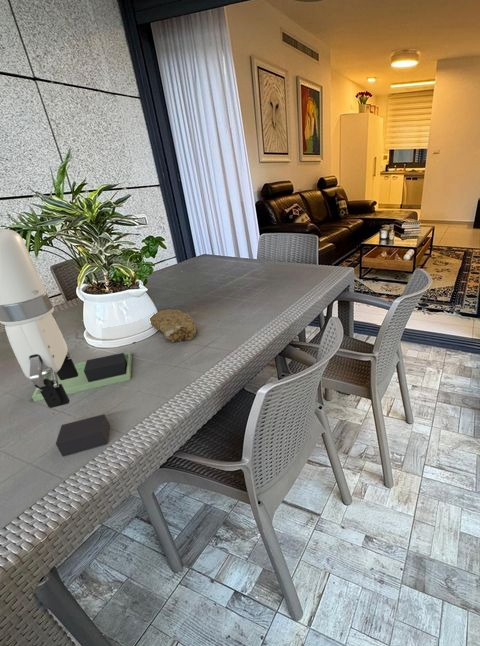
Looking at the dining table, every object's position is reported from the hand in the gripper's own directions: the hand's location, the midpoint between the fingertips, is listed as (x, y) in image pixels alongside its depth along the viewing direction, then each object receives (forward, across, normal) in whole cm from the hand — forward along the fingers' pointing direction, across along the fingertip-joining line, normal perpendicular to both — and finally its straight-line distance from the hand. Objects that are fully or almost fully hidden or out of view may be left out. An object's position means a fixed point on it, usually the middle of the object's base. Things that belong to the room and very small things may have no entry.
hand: (65, 390), depth 67 cm
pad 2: (+12, -27, +2) cm, 30 cm away
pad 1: (+13, 0, 0) cm, 13 cm away
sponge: (+13, -46, +20) cm, 52 cm away
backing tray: (+13, -27, -4) cm, 30 cm away
